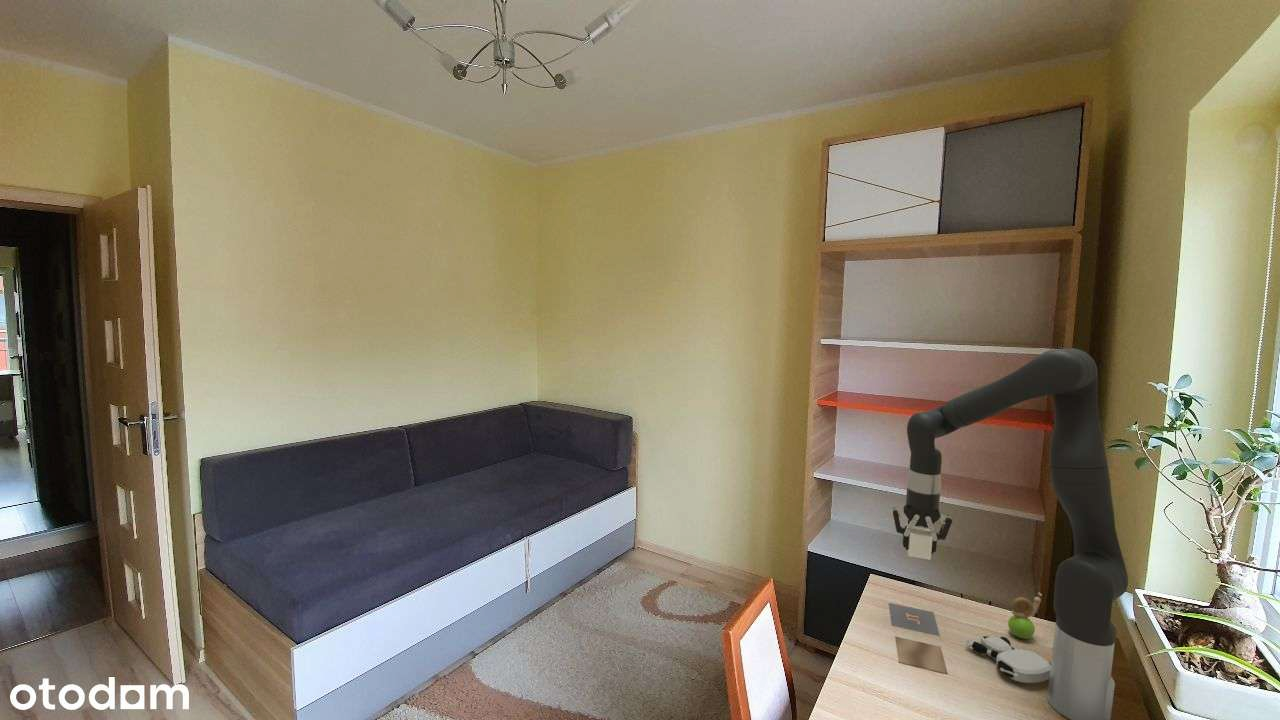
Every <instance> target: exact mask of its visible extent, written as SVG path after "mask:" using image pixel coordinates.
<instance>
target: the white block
mask: <svg viewBox="0 0 1280 720" xmlns="http://www.w3.org/2000/svg"><path fill="white" fill-rule="evenodd" d="M932 538H933V537H932V535H931V534H930V531H929V528H924V527H922V528H921V527H918V526H914V528H913V530H911V532H910V534H909V550H906V551H907V555H908V557H912V558H918V559H924V560H928V561H929V560H930V561H931V559H932V554H931V550H932Z"/></svg>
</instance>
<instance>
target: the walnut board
mask: <svg viewBox="0 0 1280 720" xmlns="http://www.w3.org/2000/svg"><path fill="white" fill-rule="evenodd" d="M894 637H895V644H896V645H895V646H896V651H897V653H896V654H897V659H898V664H902V665H906V666H910V667H913V668H917V669H922V670H926V671H931V672H935V673H939V674H943V675H945V676H946V675H947V676H948V675H949V672H948V669H947V666H946V662H945V661H946V660H945V659H944V654H943V650H942V647H941V645H935V644H931V643H927V642H921V641H918V640H914V639H910V638H904V637H902V636H901V637H899V636H897V635H895V636H894Z"/></svg>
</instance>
